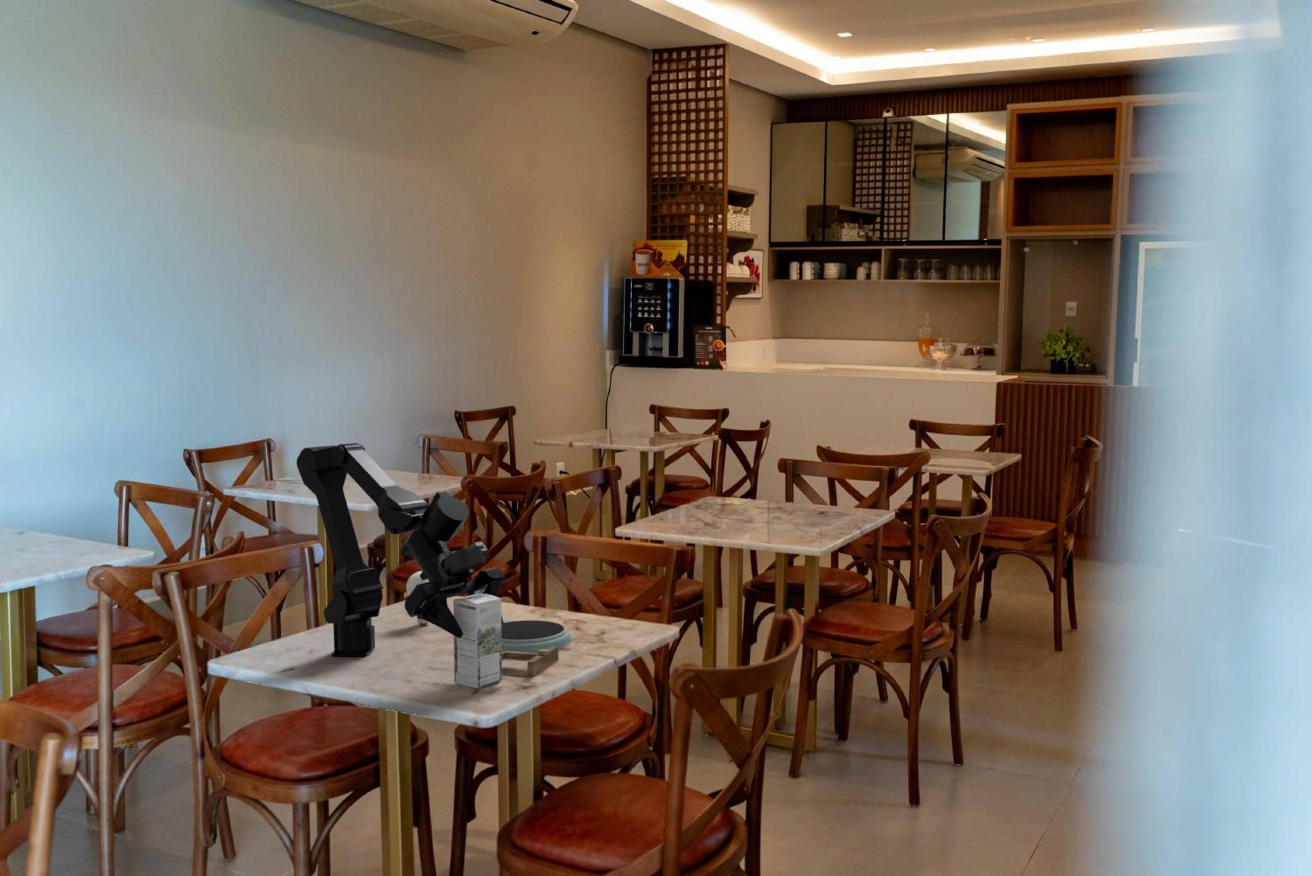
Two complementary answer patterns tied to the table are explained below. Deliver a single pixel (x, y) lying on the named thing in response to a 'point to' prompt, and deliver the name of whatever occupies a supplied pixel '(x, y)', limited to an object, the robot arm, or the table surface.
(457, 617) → the syrup box
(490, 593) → the robot arm
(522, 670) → the square wooden frame
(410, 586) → the lightbulb
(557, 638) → the scale
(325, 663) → the table surface
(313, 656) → the table surface
